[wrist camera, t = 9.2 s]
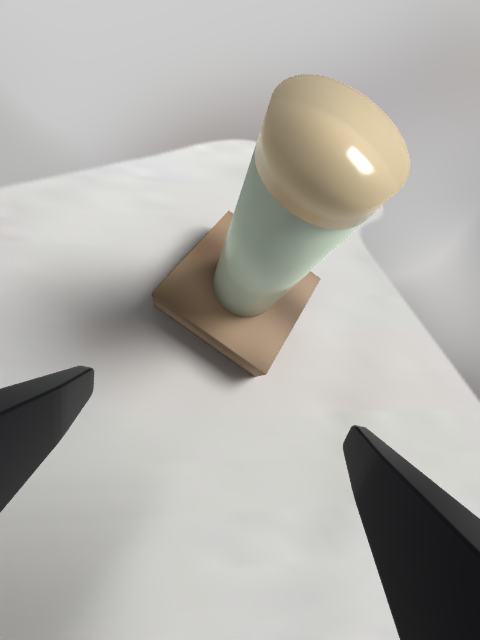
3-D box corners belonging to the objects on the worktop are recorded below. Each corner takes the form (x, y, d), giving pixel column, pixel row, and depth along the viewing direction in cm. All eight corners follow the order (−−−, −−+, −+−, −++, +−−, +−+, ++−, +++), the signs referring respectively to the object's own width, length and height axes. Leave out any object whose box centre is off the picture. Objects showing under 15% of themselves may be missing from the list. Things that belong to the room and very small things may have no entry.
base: (255, 376, 20) (266, 374, 17) (154, 305, 19) (151, 293, 17) (306, 290, 23) (320, 278, 21) (223, 229, 23) (228, 210, 21)
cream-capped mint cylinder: (239, 329, 18) (347, 223, 7) (199, 275, 18) (236, 89, 7) (288, 295, 20) (434, 168, 9) (250, 246, 20) (342, 65, 9)
